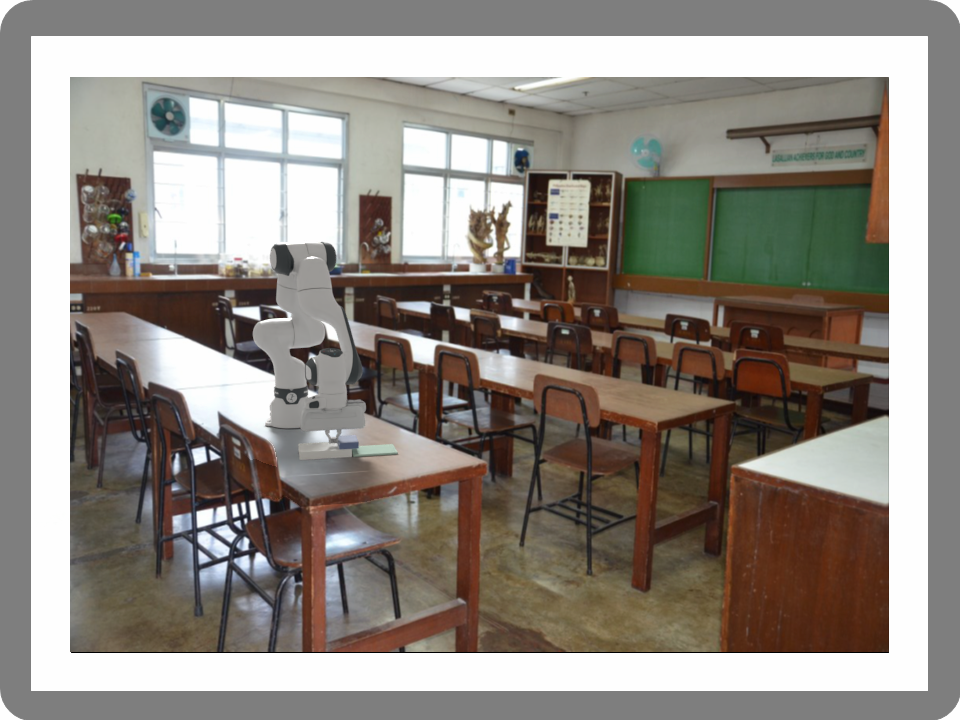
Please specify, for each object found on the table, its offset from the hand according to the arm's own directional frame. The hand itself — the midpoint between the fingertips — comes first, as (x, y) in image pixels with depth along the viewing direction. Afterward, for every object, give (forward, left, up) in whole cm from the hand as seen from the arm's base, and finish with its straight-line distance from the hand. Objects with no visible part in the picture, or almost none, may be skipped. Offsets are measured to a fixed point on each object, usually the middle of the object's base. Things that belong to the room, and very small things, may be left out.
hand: (333, 443), depth 250 cm
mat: (0, +13, -4) cm, 13 cm away
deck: (0, -3, -4) cm, 4 cm away
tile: (0, +4, -1) cm, 5 cm away
